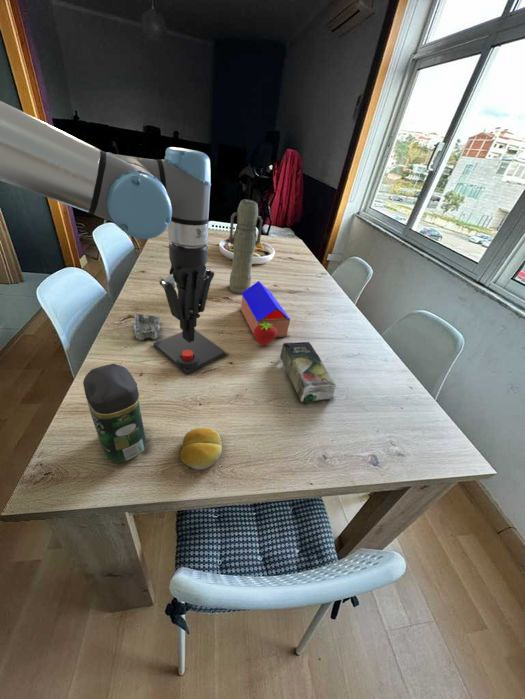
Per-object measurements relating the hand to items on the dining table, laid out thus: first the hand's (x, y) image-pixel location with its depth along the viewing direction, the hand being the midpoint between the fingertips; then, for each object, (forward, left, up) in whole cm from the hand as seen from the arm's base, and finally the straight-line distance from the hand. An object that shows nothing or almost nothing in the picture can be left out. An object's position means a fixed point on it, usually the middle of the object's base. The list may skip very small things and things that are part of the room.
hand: (188, 339), depth 72 cm
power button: (-4, +2, -10) cm, 10 cm away
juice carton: (+21, +25, -12) cm, 35 cm away
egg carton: (-25, +3, -12) cm, 28 cm away
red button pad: (-9, +7, -12) cm, 16 cm away
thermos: (-31, +50, -12) cm, 60 cm away
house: (-7, +38, -12) cm, 40 cm away
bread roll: (+20, -12, -12) cm, 27 cm away
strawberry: (+3, +27, -12) cm, 30 cm away
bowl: (-59, +83, -12) cm, 102 cm away
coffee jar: (+8, -23, -12) cm, 27 cm away
